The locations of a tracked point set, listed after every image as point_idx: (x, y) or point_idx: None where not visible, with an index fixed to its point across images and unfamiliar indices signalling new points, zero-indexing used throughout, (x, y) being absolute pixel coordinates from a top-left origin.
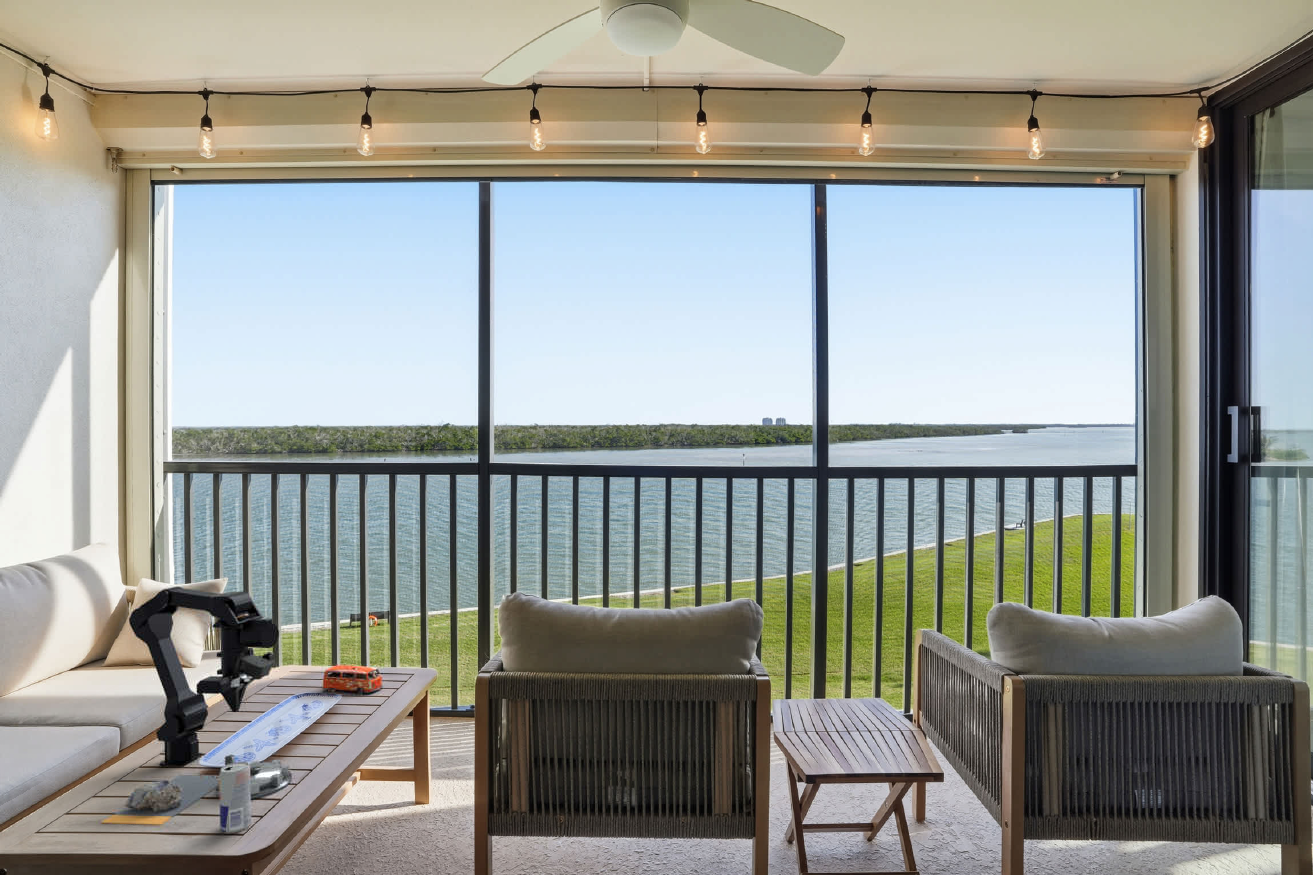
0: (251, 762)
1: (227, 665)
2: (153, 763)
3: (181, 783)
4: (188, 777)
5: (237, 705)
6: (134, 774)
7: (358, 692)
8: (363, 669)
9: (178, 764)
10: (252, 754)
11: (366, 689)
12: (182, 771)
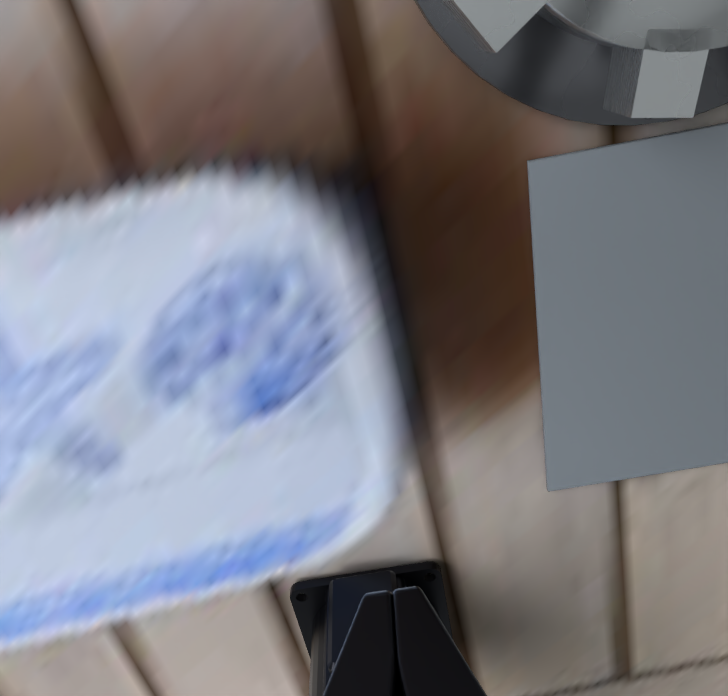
0: (502, 30)
1: None
2: None
3: (661, 395)
4: (578, 423)
5: (433, 667)
6: (556, 670)
7: None
8: None
9: (443, 588)
10: (171, 333)
11: None
12: (494, 517)
